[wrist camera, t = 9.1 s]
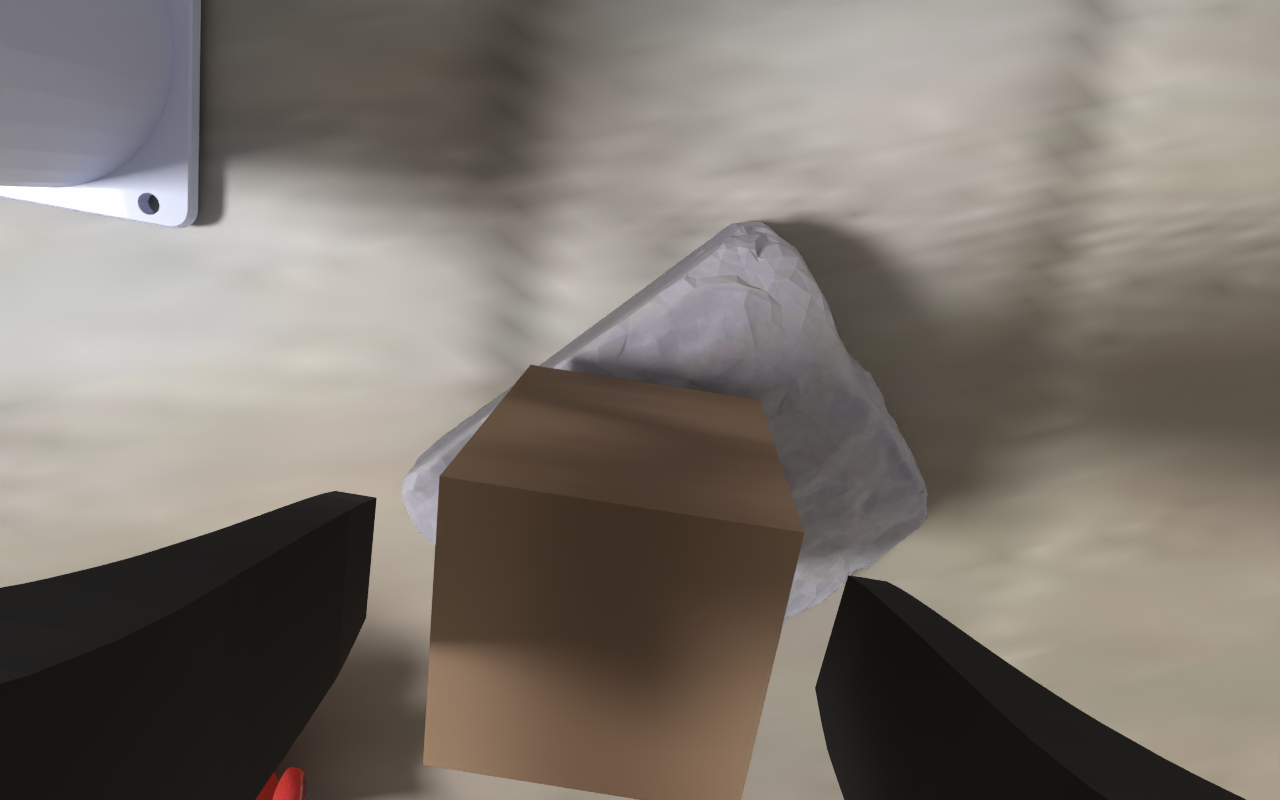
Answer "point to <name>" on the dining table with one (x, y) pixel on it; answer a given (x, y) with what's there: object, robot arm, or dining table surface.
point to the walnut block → (609, 589)
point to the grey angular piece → (759, 369)
